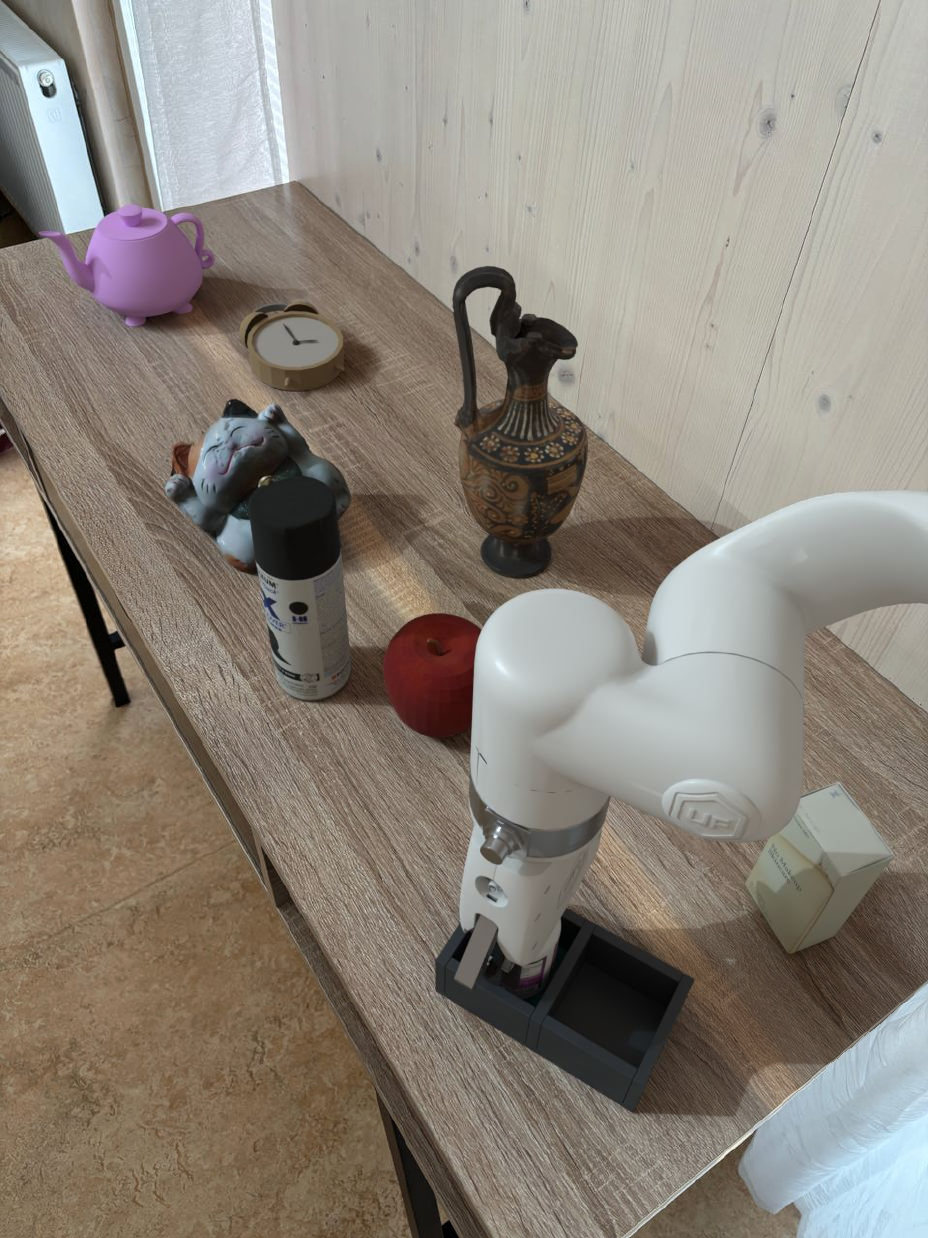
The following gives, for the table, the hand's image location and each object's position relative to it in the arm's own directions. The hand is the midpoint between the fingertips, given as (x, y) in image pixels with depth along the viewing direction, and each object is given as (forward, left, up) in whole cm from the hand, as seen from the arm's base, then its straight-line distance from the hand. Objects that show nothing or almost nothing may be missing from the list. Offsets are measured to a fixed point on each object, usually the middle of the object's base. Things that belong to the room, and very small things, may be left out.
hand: (519, 935), depth 67 cm
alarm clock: (+61, -52, -6) cm, 80 cm away
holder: (-3, 0, -6) cm, 7 cm away
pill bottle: (0, 0, -5) cm, 5 cm away
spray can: (+29, -14, -6) cm, 33 cm away
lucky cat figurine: (+44, -26, -6) cm, 51 cm away
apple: (+17, -16, -6) cm, 24 cm away
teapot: (+84, -51, -6) cm, 98 cm away
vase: (+22, -37, -6) cm, 44 cm away
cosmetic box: (-15, -15, -6) cm, 22 cm away
